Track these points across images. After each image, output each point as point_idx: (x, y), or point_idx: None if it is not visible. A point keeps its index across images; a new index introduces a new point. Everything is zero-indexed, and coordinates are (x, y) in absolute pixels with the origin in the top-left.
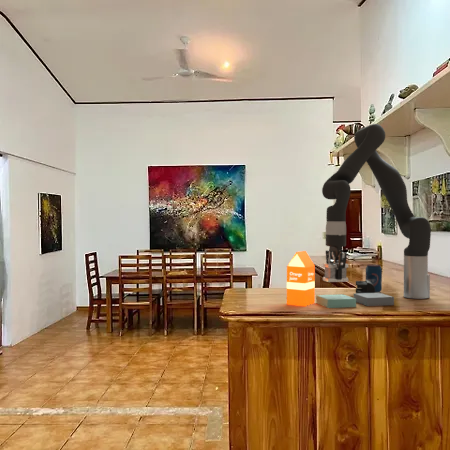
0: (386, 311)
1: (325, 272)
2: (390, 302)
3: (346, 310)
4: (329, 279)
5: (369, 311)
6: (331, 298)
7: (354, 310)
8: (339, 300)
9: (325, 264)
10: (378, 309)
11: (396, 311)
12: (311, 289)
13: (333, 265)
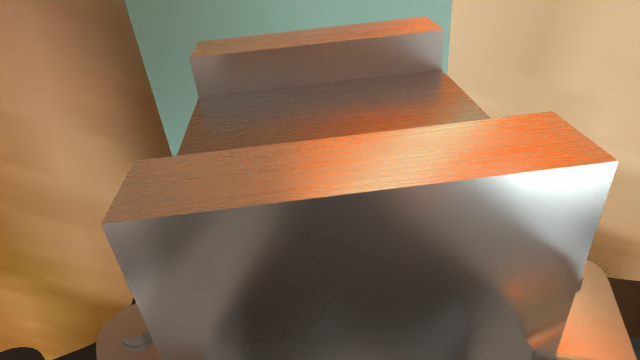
0: (53, 306)
1: (441, 107)
2: None
3: (34, 81)
4: (200, 78)
5: (29, 224)
6: (205, 25)
7: (49, 141)
8: (155, 87)
9: (367, 180)
10: (119, 287)
11: (65, 346)
12: None
13: (166, 335)
